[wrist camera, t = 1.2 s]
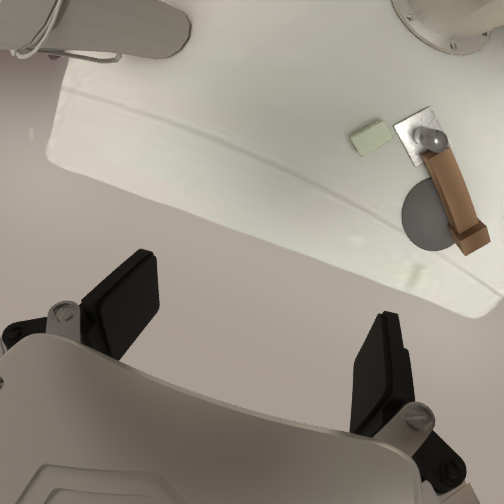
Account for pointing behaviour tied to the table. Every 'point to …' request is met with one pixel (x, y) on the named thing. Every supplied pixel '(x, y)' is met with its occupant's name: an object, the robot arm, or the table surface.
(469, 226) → the bar
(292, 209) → the table surface
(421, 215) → the pad
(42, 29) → the water bottle
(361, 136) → the block
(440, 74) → the table surface
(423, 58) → the table surface
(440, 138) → the ball knob on plate
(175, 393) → the robot arm
